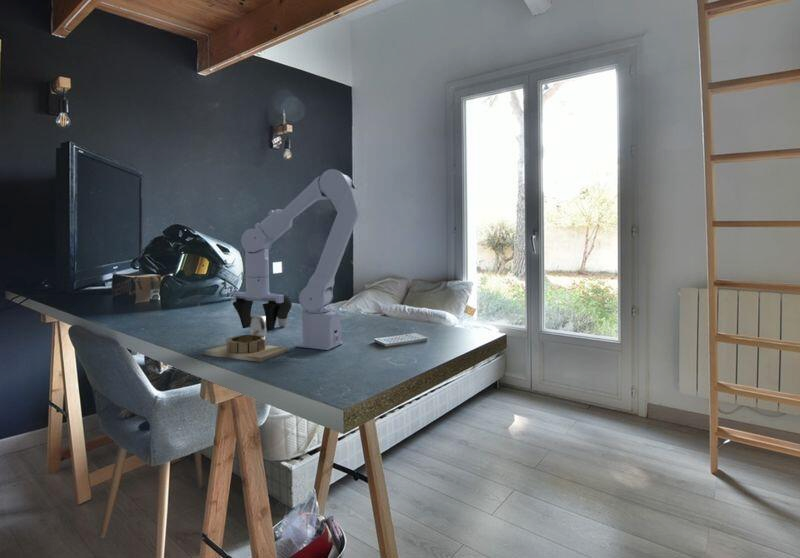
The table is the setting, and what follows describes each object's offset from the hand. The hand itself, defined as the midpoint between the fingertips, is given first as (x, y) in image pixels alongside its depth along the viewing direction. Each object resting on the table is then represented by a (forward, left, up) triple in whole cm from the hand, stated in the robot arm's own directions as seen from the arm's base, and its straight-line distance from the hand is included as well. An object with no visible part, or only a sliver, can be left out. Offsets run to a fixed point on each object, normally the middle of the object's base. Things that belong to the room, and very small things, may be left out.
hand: (258, 328), depth 119 cm
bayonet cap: (0, 0, -4) cm, 4 cm away
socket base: (-4, +9, -4) cm, 11 cm away
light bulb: (+7, -20, -4) cm, 22 cm away
